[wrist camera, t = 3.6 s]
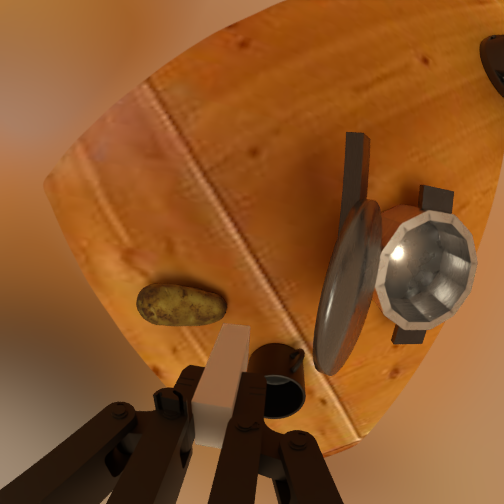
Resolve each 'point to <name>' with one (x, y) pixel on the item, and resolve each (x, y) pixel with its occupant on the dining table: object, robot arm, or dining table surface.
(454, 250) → the pot
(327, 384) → the dining table surface
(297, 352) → the mug
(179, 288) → the potato
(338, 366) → the lid
